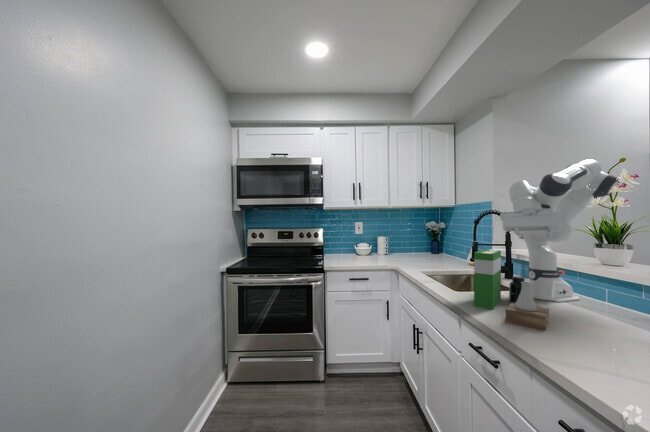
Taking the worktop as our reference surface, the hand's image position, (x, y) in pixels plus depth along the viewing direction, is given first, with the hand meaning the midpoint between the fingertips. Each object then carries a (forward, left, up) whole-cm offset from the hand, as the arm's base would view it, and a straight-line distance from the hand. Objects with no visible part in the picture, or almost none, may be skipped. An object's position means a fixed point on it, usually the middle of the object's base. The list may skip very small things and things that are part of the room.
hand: (535, 237), depth 115 cm
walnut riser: (+7, +4, -32) cm, 33 cm away
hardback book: (+6, -20, -32) cm, 38 cm away
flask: (+8, +4, -27) cm, 28 cm away
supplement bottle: (-9, -20, -32) cm, 39 cm away
